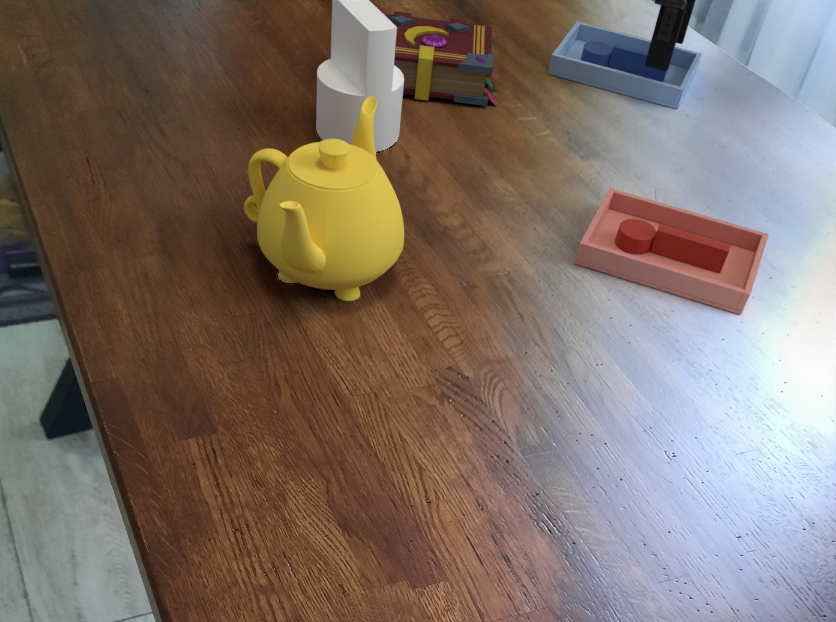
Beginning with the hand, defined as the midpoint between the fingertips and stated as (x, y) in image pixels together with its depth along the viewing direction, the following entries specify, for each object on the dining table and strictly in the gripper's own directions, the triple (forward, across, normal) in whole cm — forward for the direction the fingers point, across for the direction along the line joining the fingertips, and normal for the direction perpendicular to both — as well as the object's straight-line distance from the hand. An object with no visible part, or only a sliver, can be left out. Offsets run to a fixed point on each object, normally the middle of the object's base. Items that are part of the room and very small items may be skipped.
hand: (664, 53), depth 110 cm
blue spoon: (+3, 0, -4) cm, 5 cm away
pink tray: (+4, +36, +10) cm, 38 cm away
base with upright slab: (+3, +30, -26) cm, 40 cm away
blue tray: (+3, 0, -4) cm, 6 cm away
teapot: (+4, +54, -19) cm, 58 cm away
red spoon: (+3, +36, +10) cm, 38 cm away
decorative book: (+3, +14, -24) cm, 28 cm away
